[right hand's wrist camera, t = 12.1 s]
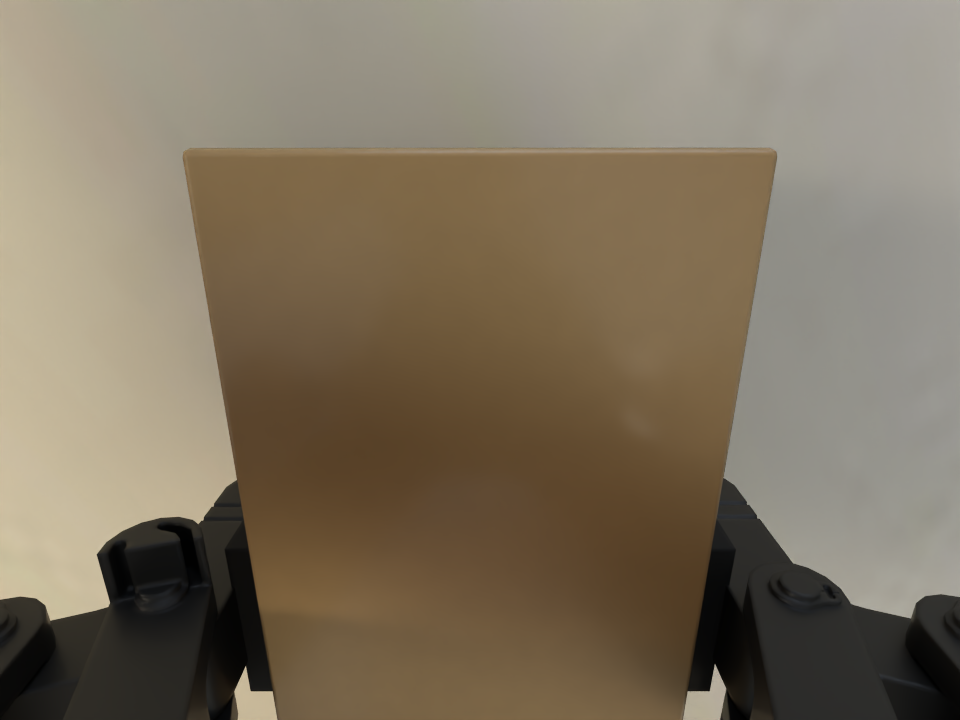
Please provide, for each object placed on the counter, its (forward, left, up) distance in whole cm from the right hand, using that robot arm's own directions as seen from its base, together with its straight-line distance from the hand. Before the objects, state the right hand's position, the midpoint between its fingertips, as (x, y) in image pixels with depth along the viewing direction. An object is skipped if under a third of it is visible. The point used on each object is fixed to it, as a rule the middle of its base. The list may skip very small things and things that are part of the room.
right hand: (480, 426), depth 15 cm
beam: (+8, -24, -1) cm, 26 cm away
